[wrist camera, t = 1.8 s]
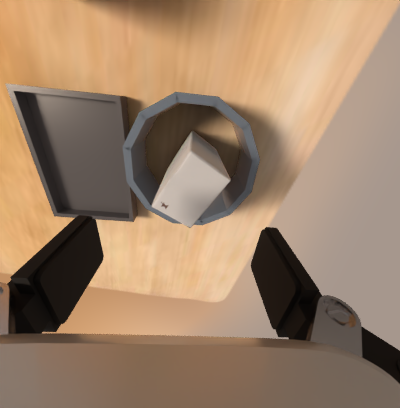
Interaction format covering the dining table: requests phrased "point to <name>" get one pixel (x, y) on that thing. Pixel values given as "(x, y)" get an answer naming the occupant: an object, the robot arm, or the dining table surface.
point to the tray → (78, 149)
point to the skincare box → (191, 181)
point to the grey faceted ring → (146, 182)
